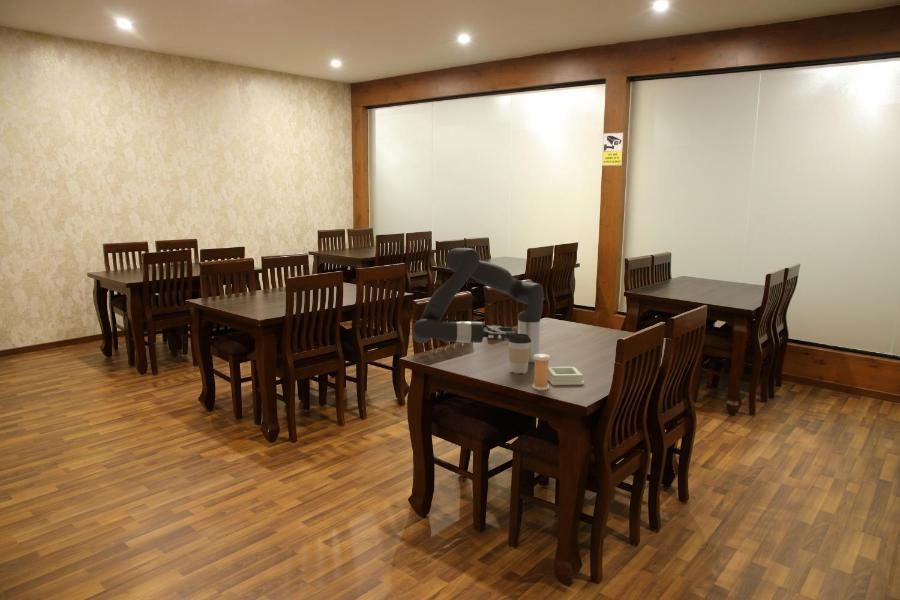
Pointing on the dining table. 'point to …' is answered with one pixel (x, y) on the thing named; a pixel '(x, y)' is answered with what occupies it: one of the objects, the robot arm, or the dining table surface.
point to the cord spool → (541, 372)
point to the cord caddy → (564, 376)
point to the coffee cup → (519, 353)
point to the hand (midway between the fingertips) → (513, 332)
